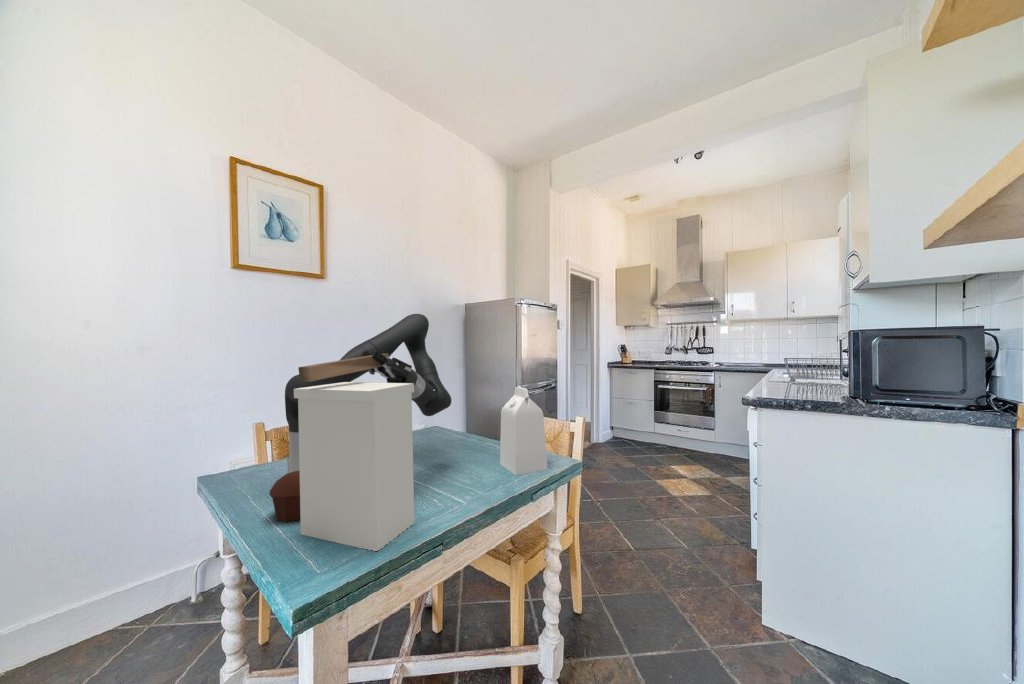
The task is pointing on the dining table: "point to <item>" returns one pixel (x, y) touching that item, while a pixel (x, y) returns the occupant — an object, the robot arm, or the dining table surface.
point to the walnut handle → (337, 368)
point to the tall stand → (356, 462)
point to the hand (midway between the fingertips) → (368, 354)
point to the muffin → (287, 497)
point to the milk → (522, 435)
